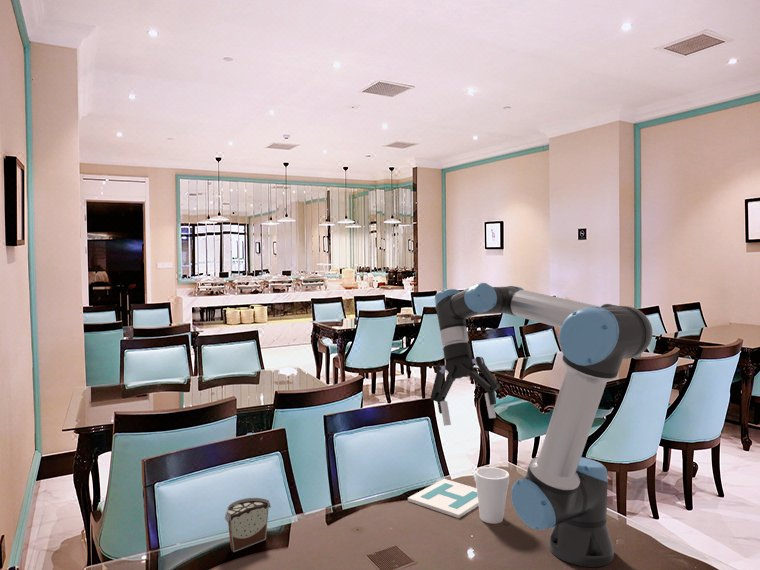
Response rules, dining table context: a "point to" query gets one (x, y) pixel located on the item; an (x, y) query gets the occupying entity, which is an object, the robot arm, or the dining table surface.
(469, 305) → the robot arm
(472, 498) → the letter board
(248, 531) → the food container
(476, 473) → the foam cup
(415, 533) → the dining table surface
